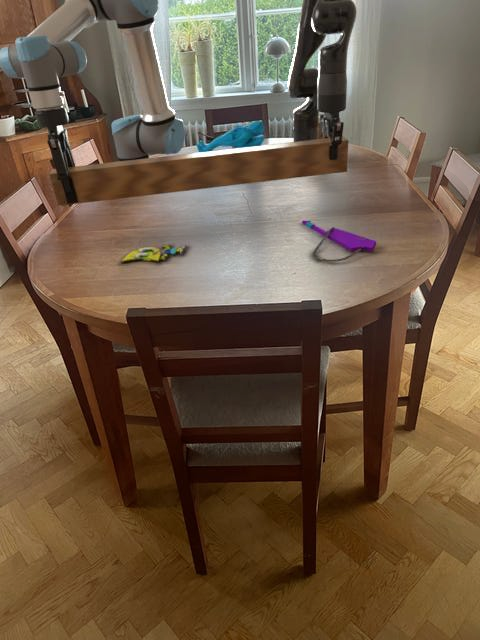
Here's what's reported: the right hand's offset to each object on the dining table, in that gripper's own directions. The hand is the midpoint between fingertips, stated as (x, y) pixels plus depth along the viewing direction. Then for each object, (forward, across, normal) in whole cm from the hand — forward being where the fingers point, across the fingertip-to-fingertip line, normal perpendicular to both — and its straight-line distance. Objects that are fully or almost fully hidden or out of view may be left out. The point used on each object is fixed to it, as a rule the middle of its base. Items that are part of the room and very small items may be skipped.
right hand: (330, 156), depth 135 cm
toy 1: (+16, -16, +52) cm, 57 cm away
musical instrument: (+15, -24, +8) cm, 29 cm away
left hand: (+3, 0, +72) cm, 72 cm away
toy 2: (+16, +80, +19) cm, 84 cm away
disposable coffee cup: (+16, +76, -19) cm, 80 cm away
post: (+4, 0, +36) cm, 36 cm away
